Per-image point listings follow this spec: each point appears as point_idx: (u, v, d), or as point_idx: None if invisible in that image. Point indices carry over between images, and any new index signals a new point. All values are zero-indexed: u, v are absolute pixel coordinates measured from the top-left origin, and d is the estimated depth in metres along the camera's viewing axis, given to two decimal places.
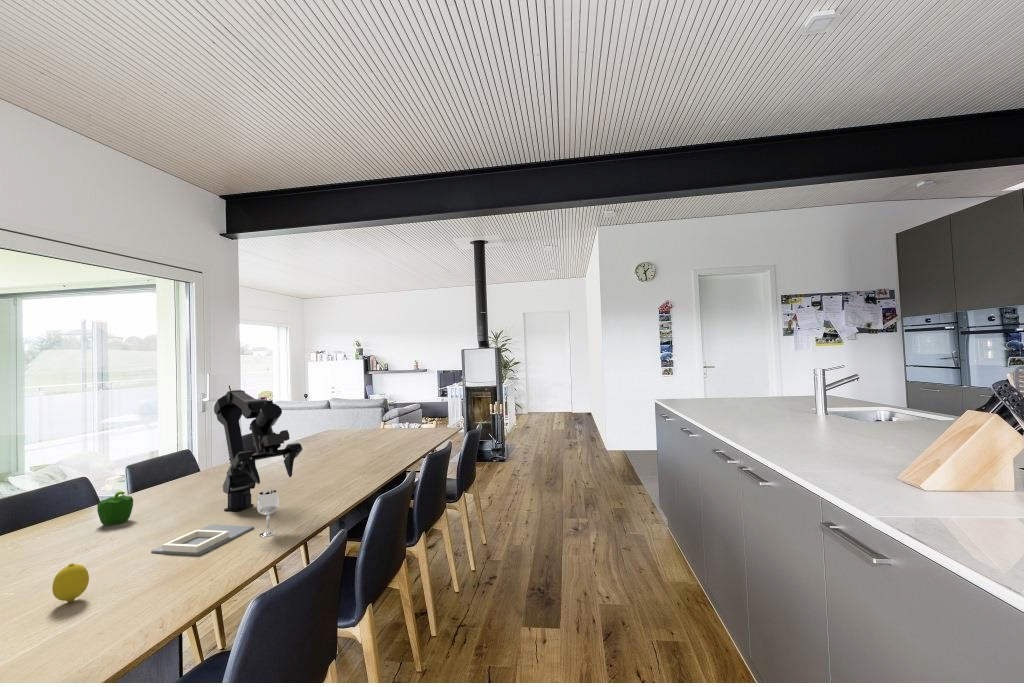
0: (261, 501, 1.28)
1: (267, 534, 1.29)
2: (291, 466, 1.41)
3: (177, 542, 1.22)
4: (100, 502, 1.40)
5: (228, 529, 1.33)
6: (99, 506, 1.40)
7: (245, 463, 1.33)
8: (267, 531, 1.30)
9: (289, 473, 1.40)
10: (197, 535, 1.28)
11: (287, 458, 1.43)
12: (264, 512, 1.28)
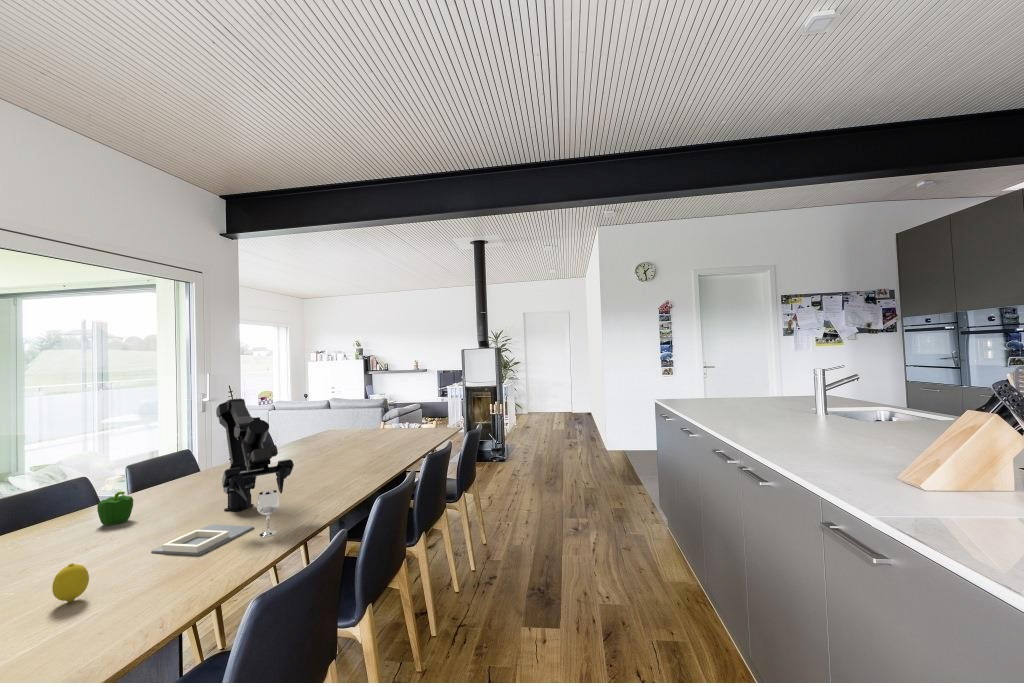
0: (261, 501, 1.28)
1: (267, 534, 1.29)
2: (282, 482, 1.38)
3: (177, 542, 1.22)
4: (100, 502, 1.40)
5: (228, 529, 1.33)
6: (99, 506, 1.40)
7: (233, 480, 1.31)
8: (267, 531, 1.30)
9: (280, 489, 1.37)
10: (197, 535, 1.28)
11: (278, 475, 1.40)
12: (264, 512, 1.28)
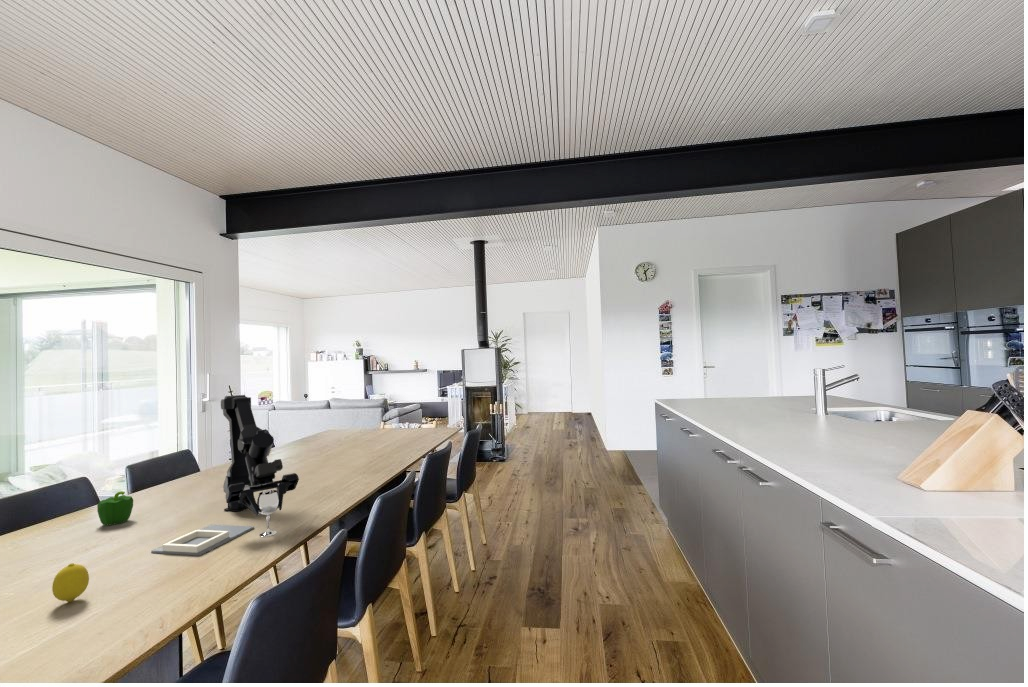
0: (261, 501, 1.28)
1: (267, 534, 1.29)
2: (281, 498, 1.33)
3: (177, 542, 1.22)
4: (100, 502, 1.40)
5: (228, 529, 1.33)
6: (99, 506, 1.40)
7: (243, 494, 1.29)
8: (267, 531, 1.30)
9: (279, 506, 1.32)
10: (197, 535, 1.28)
11: (277, 490, 1.35)
12: (264, 512, 1.28)
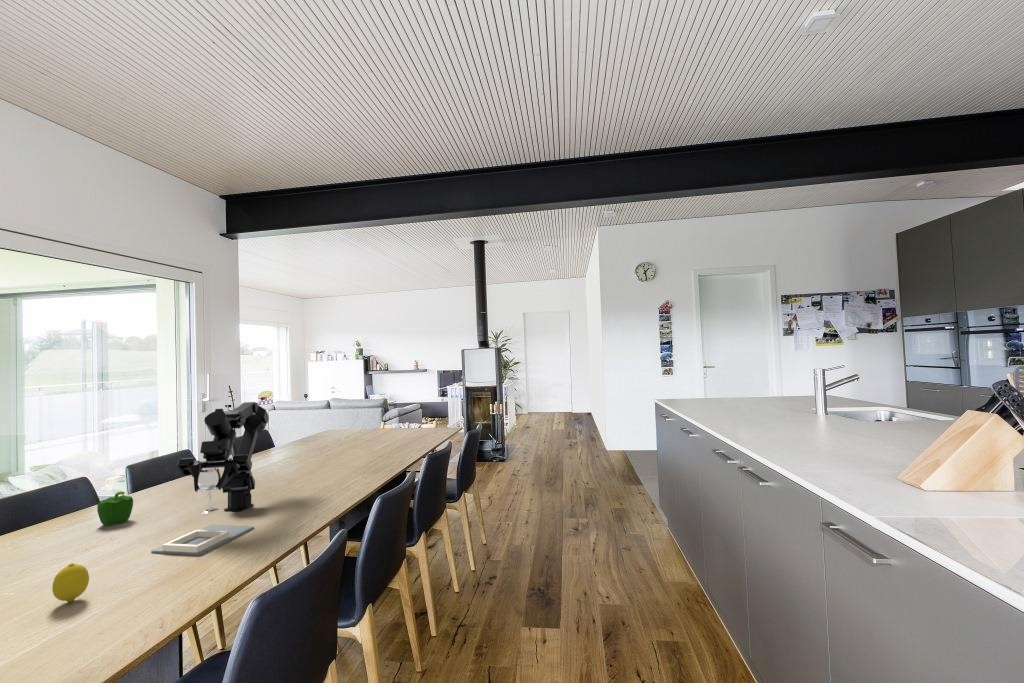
0: (199, 478, 1.30)
1: (205, 511, 1.30)
2: (222, 478, 1.33)
3: (177, 542, 1.22)
4: (100, 502, 1.40)
5: (228, 529, 1.33)
6: (99, 506, 1.40)
7: (190, 469, 1.33)
8: (207, 508, 1.31)
9: None
10: (197, 535, 1.28)
11: None
12: (200, 489, 1.30)
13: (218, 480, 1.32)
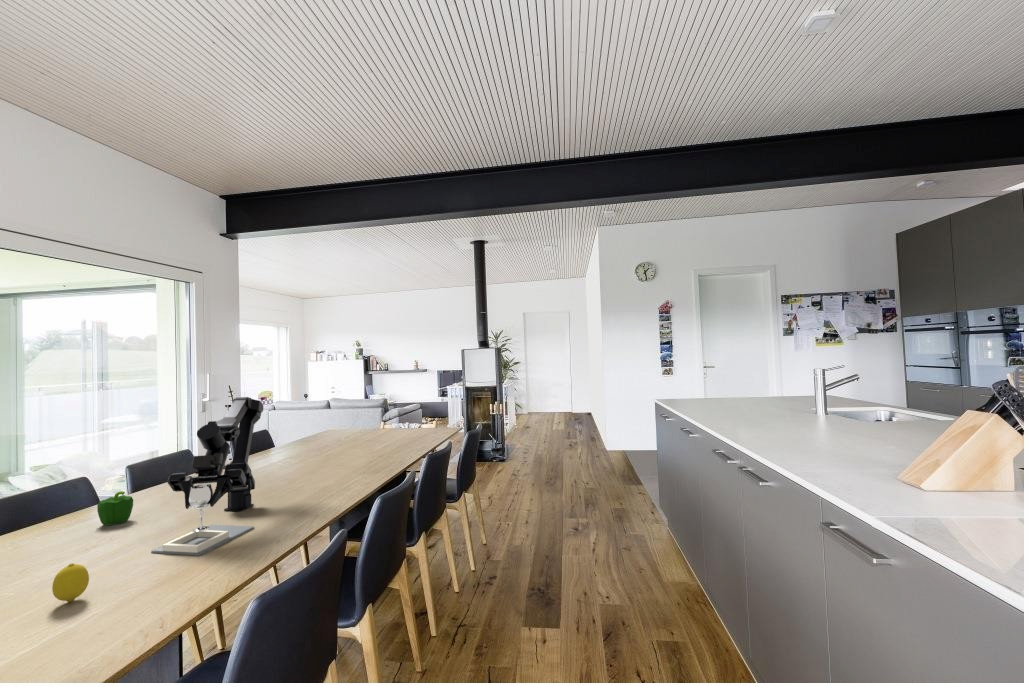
0: (190, 494, 1.24)
1: (196, 529, 1.25)
2: (215, 494, 1.27)
3: (177, 542, 1.22)
4: (100, 502, 1.40)
5: (228, 529, 1.33)
6: (99, 506, 1.40)
7: (181, 485, 1.27)
8: (199, 526, 1.26)
9: None
10: (197, 535, 1.28)
11: None
12: (191, 506, 1.24)
13: (210, 496, 1.26)
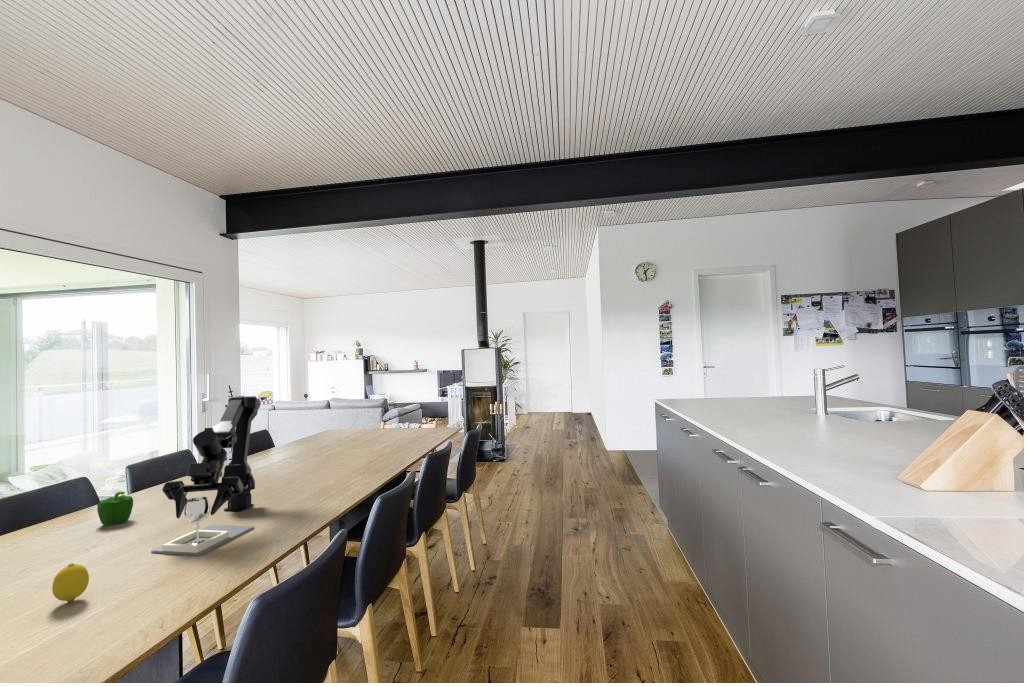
0: (185, 508, 1.22)
1: (192, 544, 1.22)
2: (215, 502, 1.25)
3: (177, 542, 1.22)
4: (100, 502, 1.40)
5: (228, 529, 1.33)
6: (99, 506, 1.40)
7: (172, 494, 1.24)
8: (195, 540, 1.23)
9: None
10: None
11: None
12: (187, 520, 1.21)
13: (206, 509, 1.23)
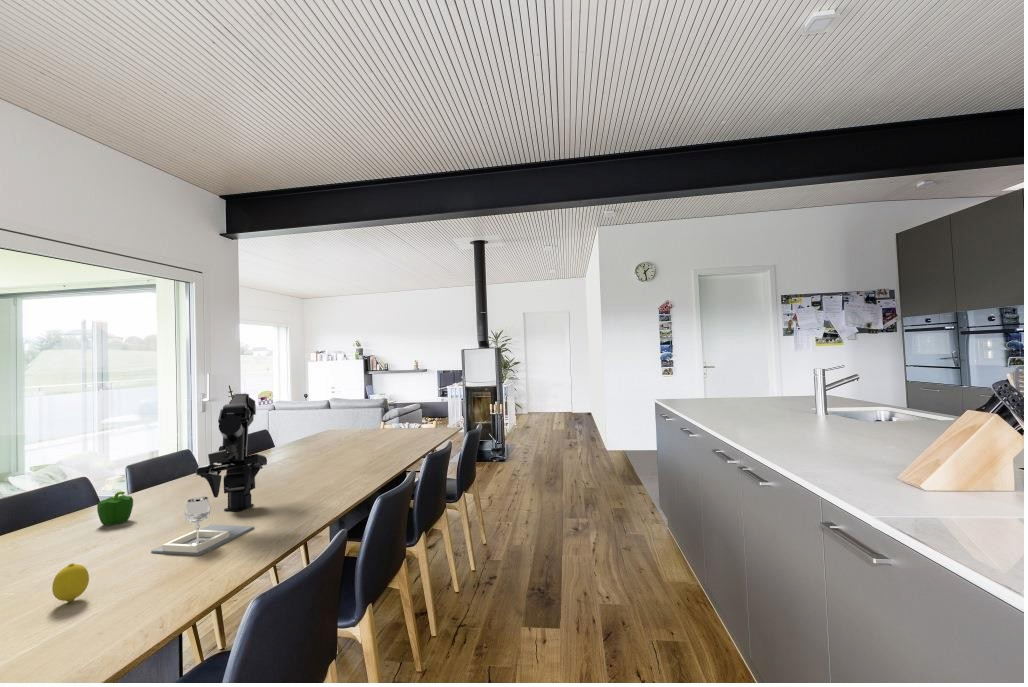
0: (186, 508, 1.22)
1: (192, 544, 1.22)
2: (246, 480, 1.35)
3: (177, 542, 1.22)
4: (100, 502, 1.40)
5: (228, 529, 1.33)
6: (99, 506, 1.40)
7: None
8: (195, 540, 1.23)
9: None
10: None
11: None
12: (187, 520, 1.21)
13: (207, 510, 1.23)
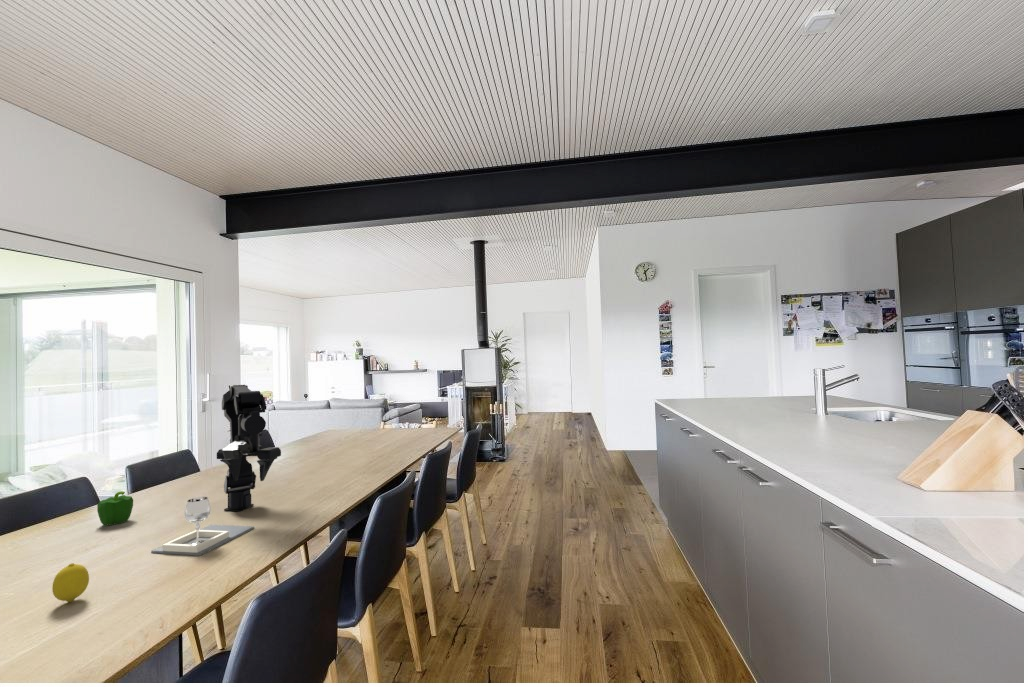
0: (186, 508, 1.22)
1: (192, 544, 1.22)
2: (261, 472, 1.39)
3: (177, 542, 1.22)
4: (100, 502, 1.40)
5: (228, 529, 1.33)
6: (99, 506, 1.40)
7: None
8: (195, 540, 1.23)
9: None
10: None
11: None
12: (187, 520, 1.21)
13: (207, 510, 1.23)
